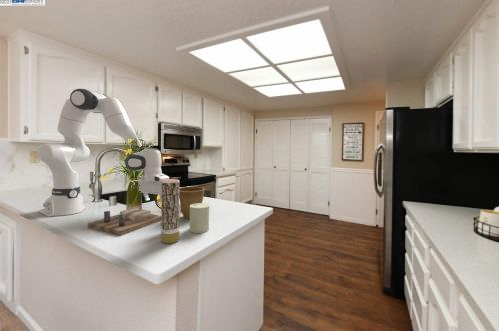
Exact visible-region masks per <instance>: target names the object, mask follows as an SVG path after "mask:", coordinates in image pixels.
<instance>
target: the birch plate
mask: <svg viewBox="0 0 499 331" xmlns="http://www.w3.org/2000/svg"><path fill="white" fill-rule="evenodd" d="M119 214H125V218H126V219H130V220H135V221H139V220H142V219H145V218H148V217H151V214H152V213H151V210H147V209H141V208H136V207H132V208H129V209H126V210H122V211H120V212H119Z"/></svg>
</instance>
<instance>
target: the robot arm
mask: <svg viewBox="0 0 499 331" xmlns="http://www.w3.org/2000/svg"><path fill="white" fill-rule="evenodd" d="M89 113H93V114H101V115H102V116H103V119H104V121H105V123H106V125H107V127H108V128H109V130H110V131H111V132H112V133H113V134H115V135H117V136H119V137H120V138H122V139H124V140H125V141H126V142H127V144H128V145H129V148H131V144H130V143H128V139H135V138H136V139H137V145H138V146H139V147H141V146H142V145H143V144H142V142H141V140H140V137H139V136H138V134H137V132H136V130H135V129H134V127H133V124H132V122H131V121H130V118H129V115H128V113H127V112H126V110H125V108H124V106H123V105H122V104H121V102H120V100H119V99H118V98H117V97H114V96H107V95H106V94H104V93H100V92H98V91H96V90H89V89H86V88H75V89H74V90H72V91H71V92H70V95H69V98H67V99H66V100H65V102H64V104H63V106H62V108H61V111H60V116H59V120H58V125H57V132H58V133H59V134H61V136H63V138H64V139H63V140H64V142H54V141H53V142H47V143H42V144H40V145H39V146H38V147H37V150H36V156H37V159H39V160H40V162H42V163H44V164H45V165H47V167H48V168H49V170H50V172H51V175H52V182H53V183H52V184H53V188H52V189H51V194H50V196H49V197H48V198H47V199H46V200H45V201H44V202H43V204H42V205H43V208H42V209H39V210H38V212H39V213H40V214H42V215H44V216H45V217H57V216H59V217H60V216H69V215H70V216H71V215H74V214H78V213H82V212H83V211H84V210H85V209H86V206H85V205H84V197H83V195H82V194H81V186H80V173H79V172H78V171H76V170H75V169H73V168H72V166H71V164H70V163H79V162H83V161H86V160H88V159H89V157H90V155H91V151H90V148H89V147H88V146H87V145H86V142H85V138H84V133H85V127H86V124H87V123H86V122H87V118H88V115H89ZM124 164H125V167H126V168H127V169H128V170H129V171H133V172H139V171H143V172H144V175H141V176H140V177H141V179H140V180H139V179H138V183H139V185H141V186H139V191H141V192H140V193H142V195H143V197H144V200H145V202H146V201H147V202H148V201H150V197H149V194H150V195H151V194H153V195H158V196H159V198H157V203H161V204H162V180H166V179H170V176H168V175H167V174H164V173H163V171H162V164H163V163H162V154H161V150H159V149H158V148H155V147H149V146H148V147H144V150H142V151H140V152H137V153H131V154H129V155H127V156H126V158H125V160H124ZM139 191H138V192H139Z"/></svg>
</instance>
